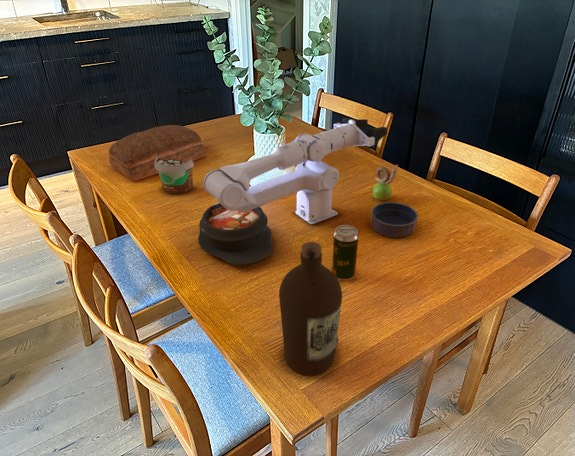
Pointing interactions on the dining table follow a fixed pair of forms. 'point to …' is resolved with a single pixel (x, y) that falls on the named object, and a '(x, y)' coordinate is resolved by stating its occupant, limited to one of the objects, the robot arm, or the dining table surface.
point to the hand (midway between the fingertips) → (376, 126)
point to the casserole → (235, 235)
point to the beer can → (345, 252)
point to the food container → (175, 175)
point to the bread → (154, 150)
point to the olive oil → (310, 313)
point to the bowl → (393, 219)
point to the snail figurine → (383, 183)
